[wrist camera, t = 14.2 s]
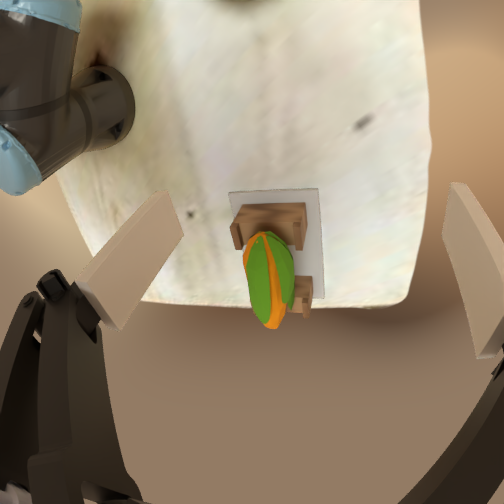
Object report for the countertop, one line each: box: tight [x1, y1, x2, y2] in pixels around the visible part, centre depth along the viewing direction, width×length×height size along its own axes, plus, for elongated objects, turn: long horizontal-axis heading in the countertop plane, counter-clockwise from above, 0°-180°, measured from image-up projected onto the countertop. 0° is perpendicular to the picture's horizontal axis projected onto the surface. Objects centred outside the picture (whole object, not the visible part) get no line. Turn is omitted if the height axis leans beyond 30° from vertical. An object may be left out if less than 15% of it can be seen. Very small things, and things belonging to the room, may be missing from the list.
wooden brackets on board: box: [230, 202, 313, 318], centre depth 49 cm, size 10×19×7 cm, turn 11°
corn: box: [243, 231, 295, 329], centre depth 45 cm, size 7×8×20 cm
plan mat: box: [228, 188, 324, 299], centre depth 52 cm, size 14×23×1 cm, turn 11°
